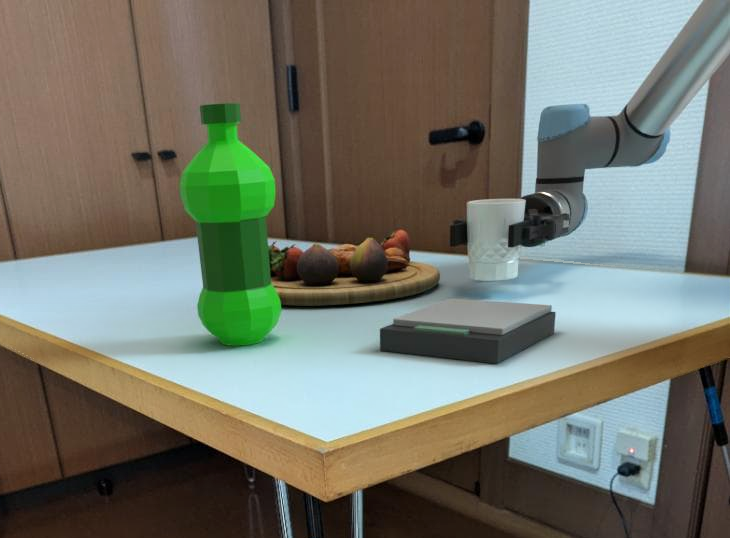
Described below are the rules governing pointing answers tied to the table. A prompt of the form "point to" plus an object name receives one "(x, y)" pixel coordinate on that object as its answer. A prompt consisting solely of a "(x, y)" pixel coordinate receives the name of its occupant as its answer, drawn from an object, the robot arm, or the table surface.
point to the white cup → (493, 238)
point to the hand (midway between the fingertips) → (481, 236)
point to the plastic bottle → (231, 231)
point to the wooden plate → (349, 272)
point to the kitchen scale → (469, 330)
